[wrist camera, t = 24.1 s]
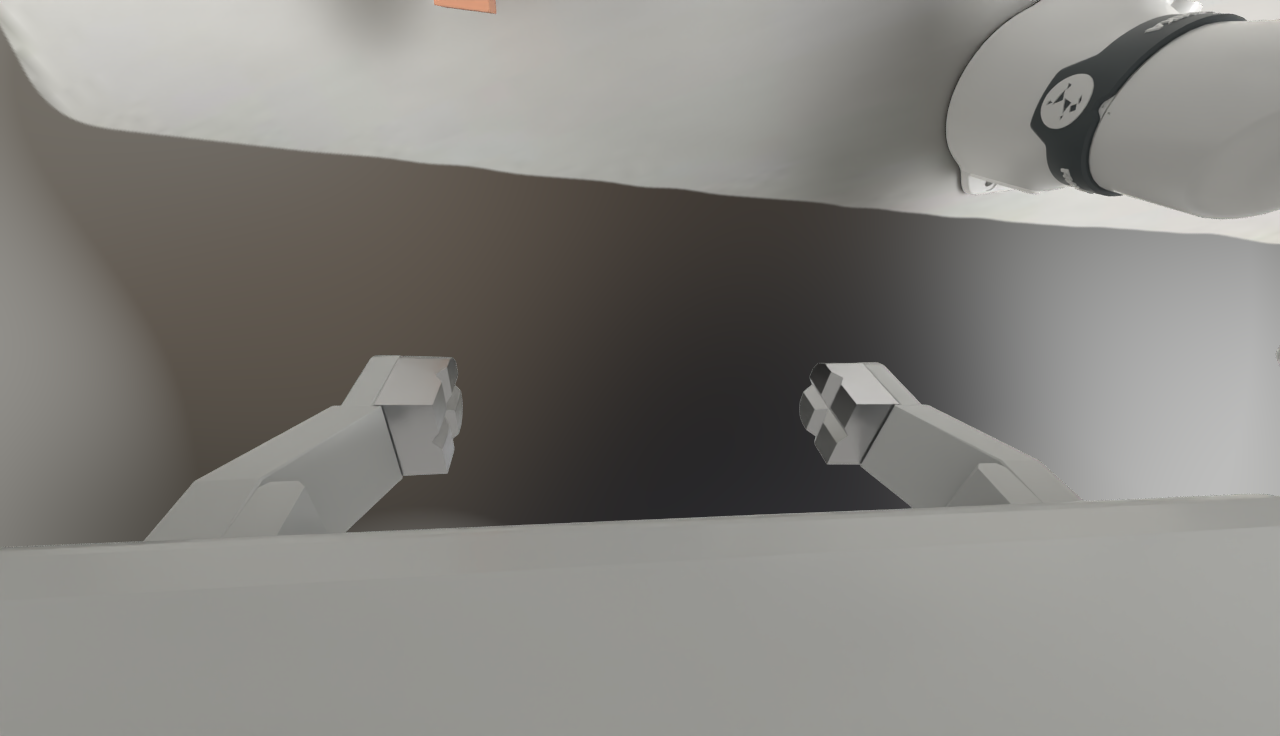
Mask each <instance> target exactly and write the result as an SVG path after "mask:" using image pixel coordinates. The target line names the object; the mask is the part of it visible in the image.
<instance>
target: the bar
mask: <svg viewBox="0 0 1280 736" xmlns="http://www.w3.org/2000/svg"><path fill="white" fill-rule="evenodd" d="M434 4H435V5H437V6H442V7H447V8H454V9H462V10H470V11H478V12H486V13H493V14H496V2H495V0H434Z"/></svg>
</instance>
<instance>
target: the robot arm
mask: <svg viewBox="0 0 1280 736" xmlns="http://www.w3.org/2000/svg"><path fill="white" fill-rule="evenodd" d="M1202 6H1203V5H1202V4H1201V3H1199V2H1196V1H1191V0H1041V1H1039V2H1038V3H1036V4H1035V5H1033V6H1032V7H1030V8H1028V9H1026V10H1024V11H1023V12H1021V13H1019V14H1018V15H1016V16H1014V17H1013V18H1011V19H1010V20H1009V21H1007V22H1006V23H1005V24H1004V25H1002V26H1001V27H1000V28H999V29H998V30H997V31H995V32H994V33H993V34H992V35H991V36H990V37H989V38H988V39H987V40H986V42H985V43H984V44H983V45H982V46H981V47H980V49H979V50H978V51H977V52H976V54H975V55H974V56H973V58H972V59H971V61H970V62H969V64H968V65H967V67H966V68H965V70H964V72H963V74H962V75H961V77H960V79H959V81H958V83H957V86H956V88H955V90H954V93H953V96H952V98H951V102H950V105H949V109H948V114H947V121H946V137H947V143H948V147H949V150H950V152H951V154H952V156H953V157H954V159H955V160H956V162H957V163H958V165H959V167H960V169H961V184H962V189H963V191H964V192H965V193H967V194H972V195H980V194H988V193H995V192H1002V191H1009V190H1019V191H1023V192H1026V193H1030V194H1039V193H1041V192H1042V191H1051V190H1057V189H1061V188H1066V187H1070V186H1071V187H1075V189H1077V190H1080V191H1083V192H1087V193H1091V194H1093V193H1096V194H1101V195H1105V196H1122V195H1126V196H1129V197H1133V198H1136V199H1140V200H1143V201H1146V202H1150V203H1153V204H1157V205H1160V206H1164V207H1167V208H1170V209H1174V210H1177V211H1181V212H1184V213H1188V214H1191V215H1195V216H1198V217H1202V218H1211V219H1238V218H1246V217H1252V216H1257V215H1262V214H1266V213H1270V212H1273V211H1277V210H1280V19H1278V20H1258V21H1247V20H1246V19H1244V18H1243V17H1240V16H1237V15H1234V14H1221V13H1216V12H1200V11H1201V10H1202ZM986 181H987V183H986ZM985 183H986V184H985ZM1276 358H1277V361H1278V363H1279V365H1280V346H1279V348H1278V350H1277V351H1276ZM457 376H458V371H457V366H456V361H455V360H454V359H453V357H424V356H391V355H390V356H388V355H385V356H384V355H376V356H374V357H372V358H371V359H370V360H369V362H368V363H367V365H366V366H365V368H364V370H363V371H362V373H361V374H360V376H359V378H358V379H357V381H356V382H355V384H354V386H353V387H352V389H351V390H350V392H349V393H348V395H347V397H346V398H345V400H344V402H343V403H342V405H341V406H331V407H330V408H328V409H326V410H324V411H322V412H320V413H319V414H317V415H315V416H313V417H311V418H309V419H308V420H306V421H304V422H302V423H300V424H298V425H297V426H295V427H293V428H291V429H289V430H287V431H286V432H284V433H282V434H280V435H279V436H277V437H275V438H273V439H271V440H269V441H267V442H266V443H264V444H262V445H260V446H258V447H256V448H254V449H253V450H251V451H249V452H247V453H245V454H244V455H242V456H240V457H238V458H237V459H234V460H233V461H231V462H229V463H227V464H225V465H224V466H222V467H220V468H218V469H216V470H214V471H212V472H211V473H209V474H207V475H205V476H203V477H202V478H200V479H198V480H196V481H194V482H193V484H192V485H191V486H190V487H189V488H188V490H187V491H186V492H185V493H184V494H183V496H182V497H181V498H180V499H179V500H178V501H177V503H176V504H175V505H174V506H173V507H172V508H171V510H170V511H169V512H168V513H167V514H166V516H165V517H164V518H163V519H162V520H161V521H160V523H159V524H158V525H157V526H156V527H155V528H154V530H153V531H152V532H151V533H150V534H149V536H148V537H147V538H146V539H145V540H144V541H140V542H119V543H118V542H116V543H93V544H69V545H47V546H46V545H45V546H23V547H0V736H1280V497H1279V496H1274V495H1268V494H1234V495H1214V496H1193V497H1168V498H1145V499H1121V500H1098V501H1083V500H1082V499H1081V498H1080V497H1079V496H1078V495H1077V494H1076V493H1075V492H1074V491H1072V490H1071V489H1070V488H1069V487H1068V486H1067V485H1066V484H1065V483H1064V482H1063V481H1061V480H1060V479H1059V478H1058V477H1057V476H1056V475H1055V474H1053V472H1052V471H1051V470H1049V469H1048V468H1047V467H1046V466H1045V465H1044V464H1043V463H1042V462H1040V461H1039V460H1037V459H1035V458H1033V457H1031V456H1029V455H1027V454H1025V453H1023V452H1021V451H1019V450H1017V449H1015V448H1013V447H1011V446H1009V445H1007V444H1005V443H1003V442H1001V441H999V440H997V439H995V438H993V437H991V436H989V435H987V434H985V433H983V432H981V431H979V430H977V429H975V428H973V427H971V426H969V425H967V424H965V423H963V422H961V421H959V420H957V419H955V418H953V417H951V416H949V415H947V414H945V413H943V412H941V411H939V410H937V409H935V408H933V407H931V406H929V405H921V404H920V402H919V401H918V400H917V399H916V398H915V397H914V396H913V395H912V394H911V393H910V392H909V391H908V390H907V389H906V388H905V387H904V386H903V385H902V384H901V383H900V382H899V381H898V380H897V379H896V377H895V376H894V375H893V374H892V373H891V372H890V371H889V370H888V369H887V368H886V367H885V366H884V365H882V364H880V363H877V362H875V363H874V362H870V363H818V364H817V365H816V366H815V367H814V368H813V370H812V372H811V375H810V380H811V382H812V385H811V386H810V387H809V388H808V389H806V390H805V391H804V392H803V395H802V397H801V400H800V418H801V421H802V423H803V425H804V427H805V429H806V430H807V431H809V432H811V433H812V434H814V435H815V436H816V439H815V442H814V444H815V445H816V447H817V449H818V450H819V452H820V454H821V455H822V457H823V458H824V460H825V462H826V464H861V467H862V468H864V469H865V470H866V471H867V472H869V473H870V474H871V475H872V476H874V477H875V478H876V479H877V480H879V481H880V482H881V483H882V484H884V485H885V486H886V487H887V488H889V489H890V490H891V491H892V492H894V493H895V494H896V495H897V496H898V497H900V498H901V499H902V500H904V501H905V502H906V503H907V504H908V505H910V506H911V507H912V508H913V509H892V510H870V511H869V510H868V511H845V512H844V511H843V512H818V513H794V514H769V515H749V516H748V515H746V516H726V517H725V516H723V517H702V518H701V517H700V518H680V519H679V518H677V519H657V520H656V519H655V520H631V521H609V522H586V523H563V524H539V525H517V526H516V525H515V526H492V527H468V528H447V529H446V528H445V529H422V530H398V531H375V532H353V533H345V532H346V531H347V530H348V529H349V528H350V527H351V526H352V525H353V524H354V523H356V522H357V521H358V519H360V518H361V517H362V516H363V515H364V514H365V513H366V512H367V511H368V510H369V509H370V508H371V507H372V506H373V505H374V504H375V503H377V502H378V501H379V500H380V499H381V498H382V497H383V496H384V495H385V494H386V493H387V492H388V491H389V490H390V489H391V488H392V487H394V486H395V485H396V483H398V482H399V481H400V480H401V479H402V476H406V475H425V474H426V475H427V474H447V473H448V470H449V466H450V463H451V459H452V456H453V452H454V444H453V438H454V437H455V436H456V435H458V434H459V430H460V427H461V423H462V412H463V407H462V395H461V390H459V389H458V388H457V387H456V386H455V382H456V379H457Z"/></svg>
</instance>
